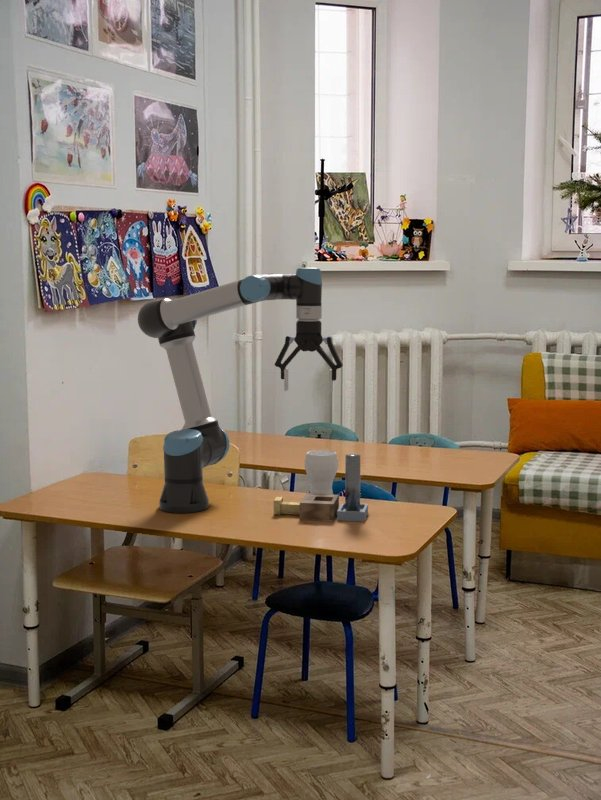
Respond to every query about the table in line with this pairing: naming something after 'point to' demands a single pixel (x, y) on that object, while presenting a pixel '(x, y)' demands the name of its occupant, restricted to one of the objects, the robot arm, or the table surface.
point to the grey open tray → (352, 513)
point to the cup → (321, 470)
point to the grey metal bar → (352, 482)
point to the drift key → (286, 507)
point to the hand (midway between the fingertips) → (308, 391)
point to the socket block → (319, 507)
